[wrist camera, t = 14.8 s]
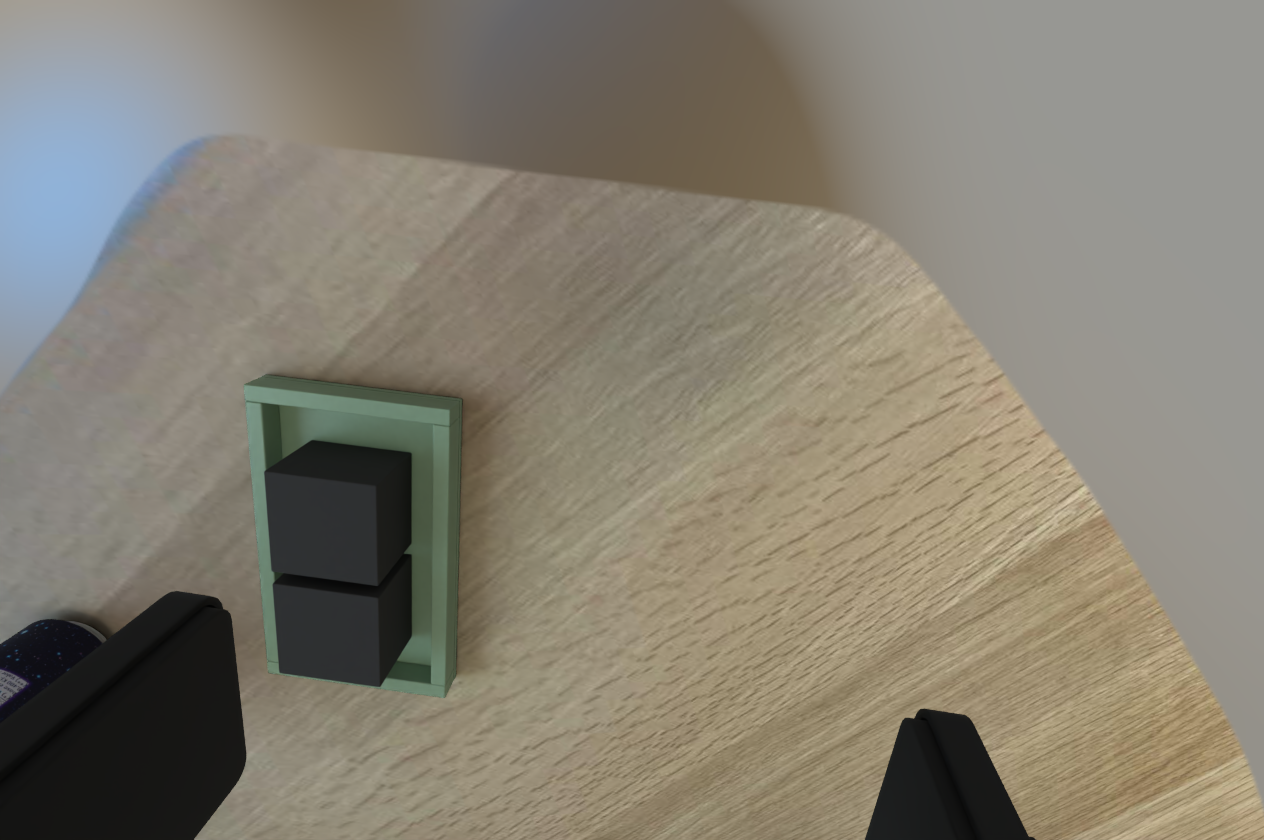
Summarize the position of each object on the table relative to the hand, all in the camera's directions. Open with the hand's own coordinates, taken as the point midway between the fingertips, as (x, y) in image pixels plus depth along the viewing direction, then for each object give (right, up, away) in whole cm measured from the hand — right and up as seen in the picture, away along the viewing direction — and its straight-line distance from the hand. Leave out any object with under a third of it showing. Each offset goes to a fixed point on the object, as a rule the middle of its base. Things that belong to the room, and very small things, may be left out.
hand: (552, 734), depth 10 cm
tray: (-12, -2, +26) cm, 29 cm away
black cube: (-12, +1, +25) cm, 27 cm away
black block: (-13, -5, +26) cm, 30 cm away
